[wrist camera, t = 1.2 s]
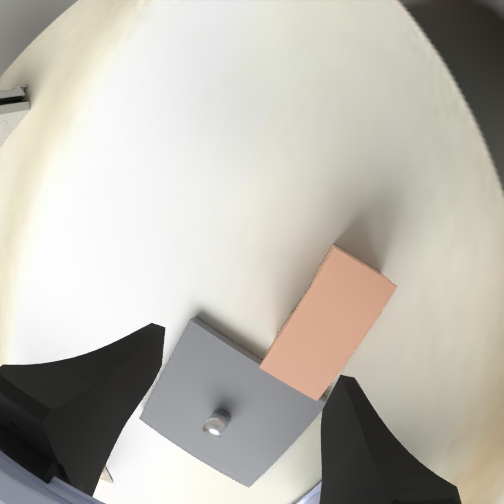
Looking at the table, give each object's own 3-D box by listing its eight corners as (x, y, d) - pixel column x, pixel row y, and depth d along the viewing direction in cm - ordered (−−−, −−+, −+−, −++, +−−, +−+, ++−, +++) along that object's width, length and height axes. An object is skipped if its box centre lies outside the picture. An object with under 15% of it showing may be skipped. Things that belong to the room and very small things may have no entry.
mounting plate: (327, 397, 22) (327, 403, 21) (251, 481, 24) (248, 487, 23) (195, 316, 24) (190, 319, 23) (144, 413, 26) (139, 418, 25)
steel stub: (234, 416, 23) (226, 430, 21) (225, 427, 23) (217, 442, 21) (217, 405, 23) (207, 419, 21) (209, 417, 24) (199, 431, 22)
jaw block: (381, 273, 21) (397, 286, 16) (320, 365, 22) (316, 401, 17) (332, 244, 22) (334, 247, 16) (274, 338, 23) (258, 367, 18)
